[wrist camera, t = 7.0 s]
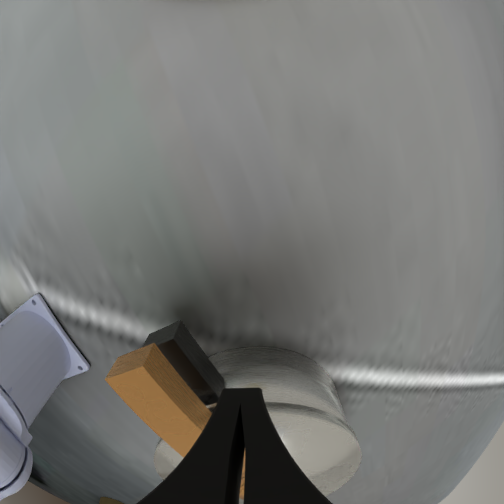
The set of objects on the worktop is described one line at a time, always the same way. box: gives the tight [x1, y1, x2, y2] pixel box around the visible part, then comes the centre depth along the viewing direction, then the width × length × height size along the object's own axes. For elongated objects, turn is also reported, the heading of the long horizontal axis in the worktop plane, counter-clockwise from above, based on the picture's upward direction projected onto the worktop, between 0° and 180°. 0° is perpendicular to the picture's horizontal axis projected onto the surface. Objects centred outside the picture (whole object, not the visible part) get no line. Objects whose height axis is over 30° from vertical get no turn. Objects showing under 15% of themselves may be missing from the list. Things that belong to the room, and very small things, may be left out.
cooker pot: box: [143, 320, 347, 423], centre depth 20 cm, size 22×14×6 cm, turn 28°
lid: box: [105, 343, 362, 504], centre depth 15 cm, size 20×15×3 cm
